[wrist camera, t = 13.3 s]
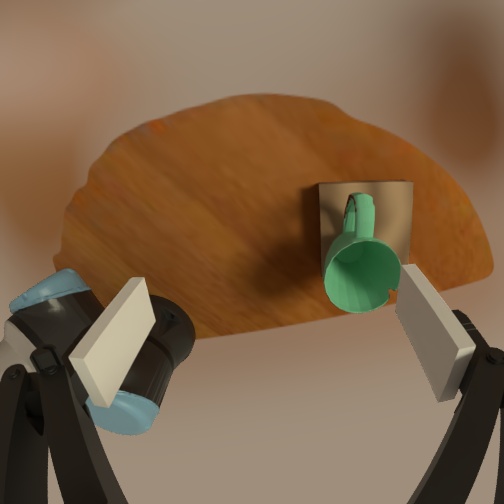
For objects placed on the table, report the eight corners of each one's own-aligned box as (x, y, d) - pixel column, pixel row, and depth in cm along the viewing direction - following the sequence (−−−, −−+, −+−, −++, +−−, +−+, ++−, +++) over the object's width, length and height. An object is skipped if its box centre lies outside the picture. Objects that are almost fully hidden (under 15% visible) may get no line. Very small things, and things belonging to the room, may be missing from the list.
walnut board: (319, 268, 51) (321, 276, 48) (316, 180, 45) (318, 184, 42) (401, 262, 49) (407, 270, 46) (405, 177, 44) (413, 181, 41)
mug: (377, 275, 47) (397, 309, 38) (315, 279, 48) (323, 316, 39) (381, 180, 41) (407, 196, 32) (312, 182, 42) (322, 199, 33)
